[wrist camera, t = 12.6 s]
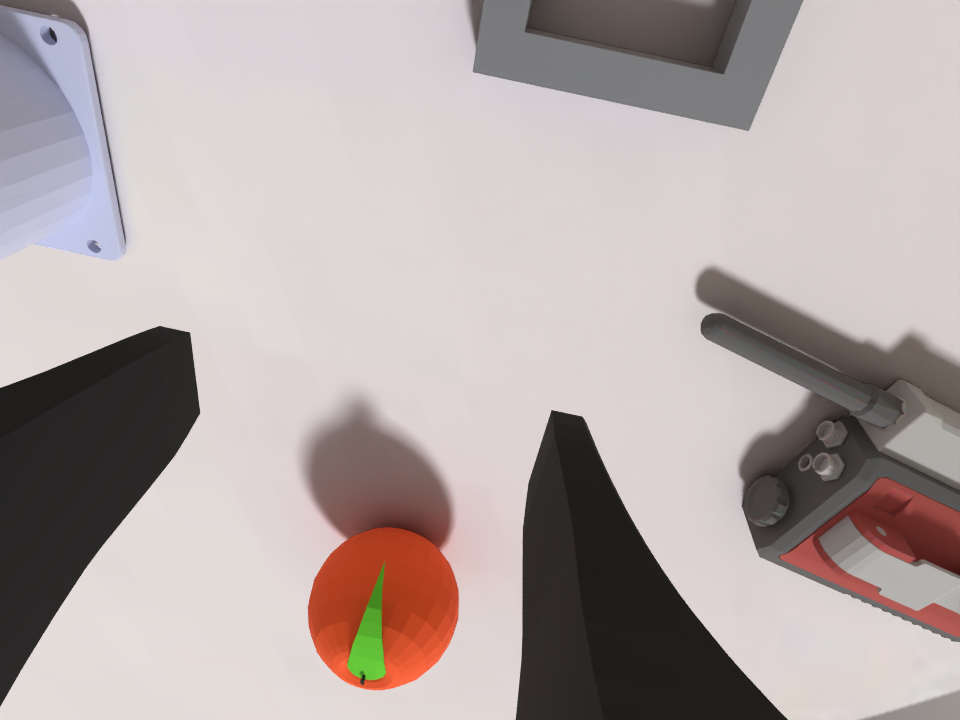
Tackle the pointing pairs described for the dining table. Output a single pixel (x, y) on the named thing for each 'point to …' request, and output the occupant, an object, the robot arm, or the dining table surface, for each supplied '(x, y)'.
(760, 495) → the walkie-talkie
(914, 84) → the dining table surface
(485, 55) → the frame
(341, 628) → the clementine
